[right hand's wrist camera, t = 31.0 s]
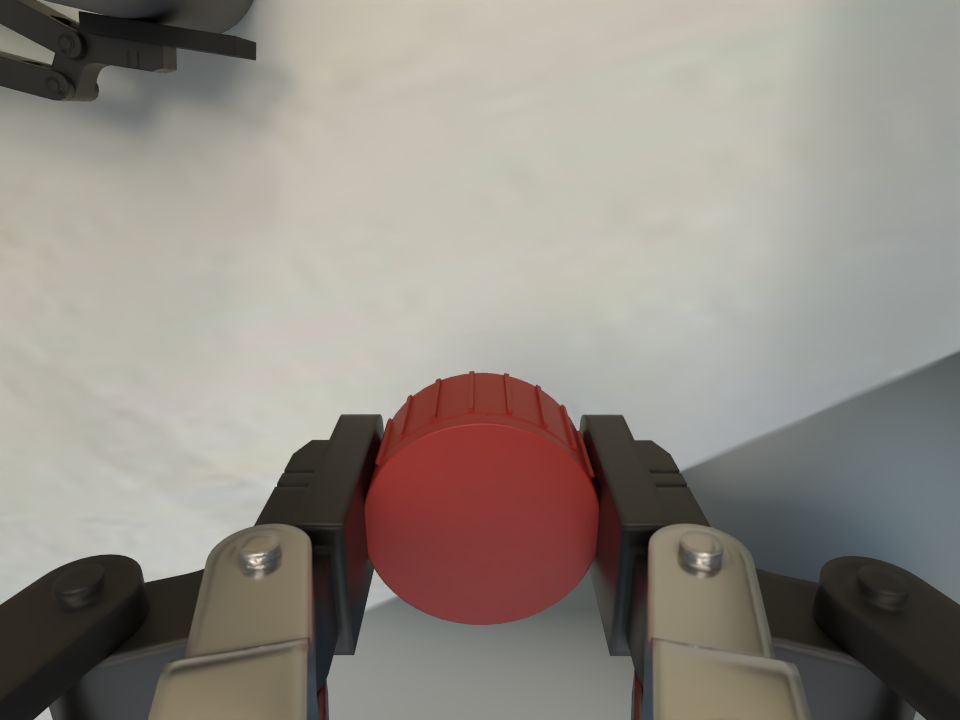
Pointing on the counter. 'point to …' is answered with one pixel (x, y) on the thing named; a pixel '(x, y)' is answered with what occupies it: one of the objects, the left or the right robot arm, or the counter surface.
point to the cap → (481, 501)
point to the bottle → (170, 11)
